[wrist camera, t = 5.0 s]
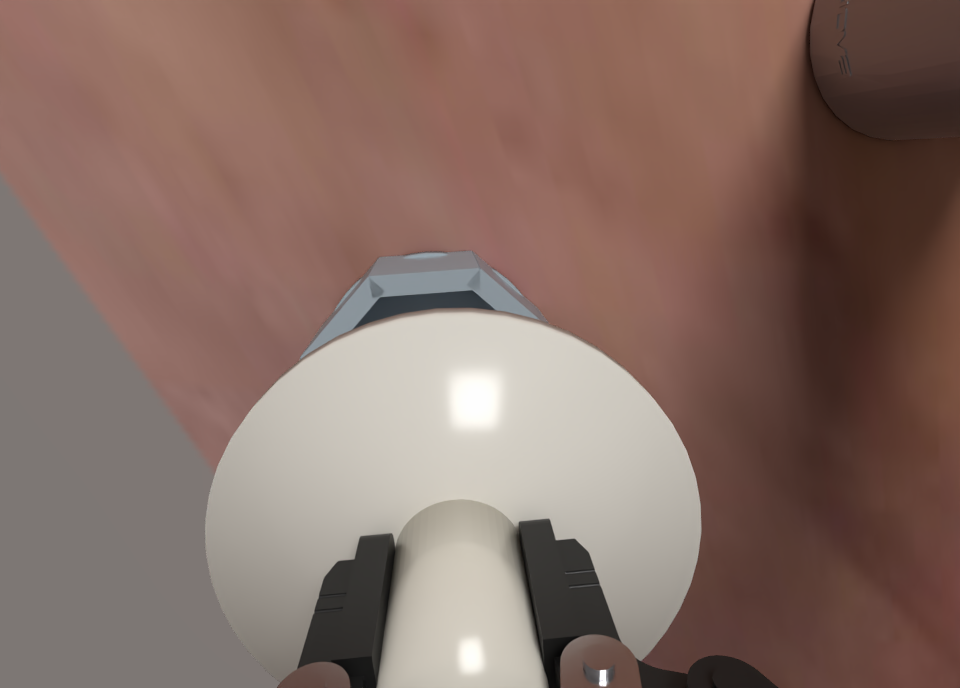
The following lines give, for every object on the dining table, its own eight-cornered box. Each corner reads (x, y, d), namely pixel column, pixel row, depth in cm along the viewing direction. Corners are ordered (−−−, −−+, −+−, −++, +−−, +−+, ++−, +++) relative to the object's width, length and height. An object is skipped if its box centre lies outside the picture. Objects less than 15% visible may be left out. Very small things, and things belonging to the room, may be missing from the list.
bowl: (538, 243, 26) (560, 259, 21) (544, 447, 29) (564, 497, 24) (309, 259, 25) (284, 279, 21) (339, 466, 28) (323, 520, 24)
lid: (697, 286, 13) (859, 368, 8) (680, 689, 16) (783, 924, 11) (167, 331, 12) (-23, 446, 7) (267, 731, 16) (183, 993, 11)
